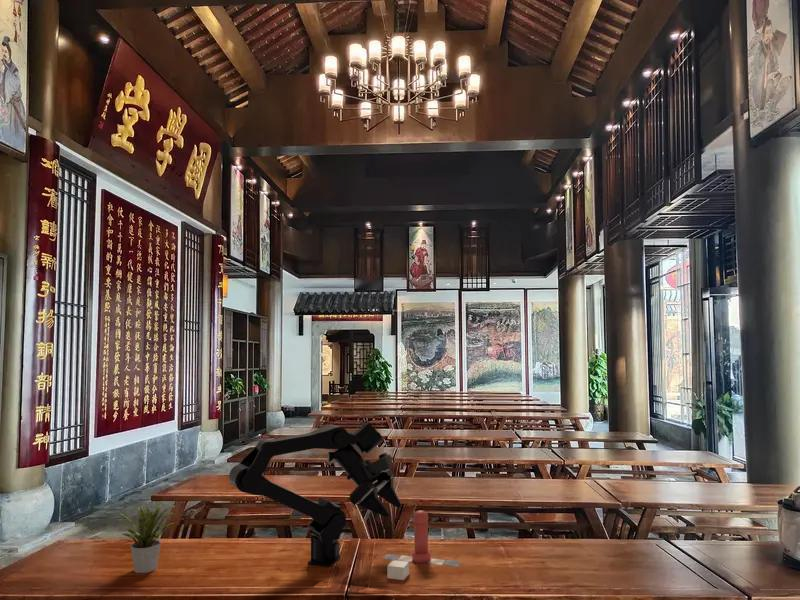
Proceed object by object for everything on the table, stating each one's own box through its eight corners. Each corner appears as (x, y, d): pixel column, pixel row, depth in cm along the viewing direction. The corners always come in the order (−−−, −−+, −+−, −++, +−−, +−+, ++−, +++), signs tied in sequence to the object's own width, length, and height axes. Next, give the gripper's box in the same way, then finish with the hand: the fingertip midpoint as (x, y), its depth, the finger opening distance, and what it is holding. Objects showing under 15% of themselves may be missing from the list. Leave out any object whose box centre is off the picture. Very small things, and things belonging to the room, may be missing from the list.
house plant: (192, 564, 159) (193, 498, 160) (150, 583, 146) (151, 512, 147) (151, 556, 165) (152, 493, 166) (107, 574, 152) (108, 506, 153)
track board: (378, 565, 156) (378, 561, 156) (389, 555, 164) (389, 551, 164) (456, 574, 150) (456, 569, 150) (463, 563, 157) (463, 558, 158)
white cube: (387, 583, 145) (387, 565, 145) (393, 577, 149) (393, 560, 149) (403, 585, 144) (403, 567, 144) (409, 579, 148) (409, 561, 148)
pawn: (409, 562, 156) (409, 512, 156) (415, 556, 160) (414, 507, 161) (427, 564, 154) (426, 513, 155) (432, 557, 158) (431, 508, 159)
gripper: (360, 450, 154) (403, 499, 150) (386, 439, 172) (425, 482, 167) (331, 480, 156) (373, 529, 152) (360, 466, 174) (398, 510, 169)
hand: (394, 511), depth 160 cm, fingers open, 9 cm apart
